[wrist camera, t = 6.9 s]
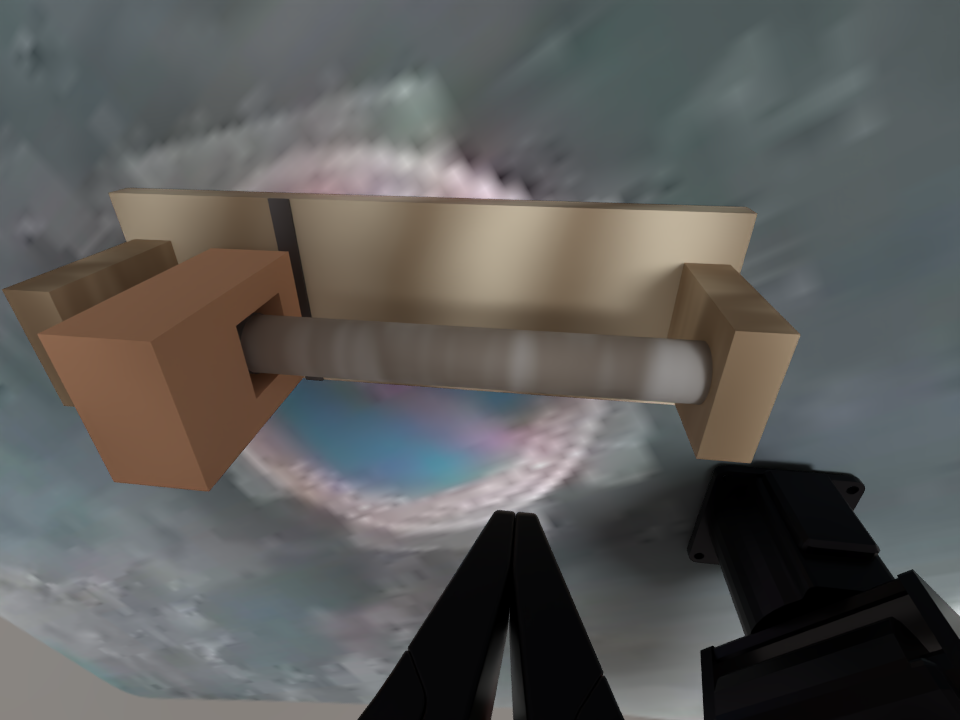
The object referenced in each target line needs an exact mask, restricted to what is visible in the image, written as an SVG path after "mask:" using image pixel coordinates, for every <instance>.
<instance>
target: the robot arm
mask: <svg viewBox="0 0 960 720" xmlns="http://www.w3.org/2000/svg"><path fill="white" fill-rule="evenodd" d="M725 475H728V476H727V477H723V476H725ZM851 486H852V487H851ZM864 491H865V486H864V484H863V483H862V482H861V481H860V479H859V478H857V477H855V476H847V475H836V474H824V473H812V472H800V471H788V470H776V469H765V468H753V467H741V466H729V465H724V466H720V467H718V468H716V469H715V470H714V472H713V474H712V477H711V480H710V483H709V486H708V489H707V492H706V495H705V498H704V501H703V504H702V507H701V510H700V513H699V516H698V519H697V522H696V525H695V528H694V531H693V534H692V537H691V540H690V543H689V545H688V548H687V552H688V555H689V558H690V560H692V561H694V562H699V563H708V564H718V565H720V566H721V569H722V572H723V575H724V578H725V580H726V583H727V586H728V589H729V592H730V595H731V597H732V600H733V603H734V606H735V609H736V611H737V614H738V617H739V620H740V623H741V625H742V628H743V631H744V634H745V636H744V637H741V638H739V639H736V640H733V641H731V642H728V643H726V644H723V645H720V646H718V647H714V646H711V647H708V648H705V649H703V650H701V671H702V690H703V709H704V720H960V616H959V615H958V614H957V613H956V612H955V611H954V610H953V609H952V608H951V607H950V606H949V605H948V604H947V603H946V602H945V601H944V600H943V599H942V598H941V597H940V596H939V595H938V594H937V593H936V592H935V591H934V590H933V589H932V588H931V587H930V586H929V585H928V584H927V583H926V582H925V581H924V580H923V579H922V578H921V577H920V576H919V575H918V574H917V573H916V572H915V571H914V570H913V569H912V570H909V571H907V572H904V573H902V574H899V575H897V576H898V578H897V579H895V578H894V577H893V575H892V574H891V573H890V571H889V570H888V568H887V567H886V565H885V564H884V563H883V561H882V560H881V558H880V557H879V555H878V553H879V552H880V549H879V547H878V546H877V544H876V543H875V541H874V540H873V538H872V537H871V536H870V534H869V533H868V531H867V530H866V529H865V527H864V526H863V524H862V523H861V522H860V520H859V519H858V517H857V516H856V515H855V513H854V512H853V510H854V509H855V507H856V505H857V503H858V502H859V500H860V498H861V496H862V495H863V493H864ZM509 612H510V620H509ZM508 623H509V636H510V659H511V681H512V702H513V720H624V718H623V715H622V713H621V711H620V709H619V707H618V704H617V702H616V700H615V698H614V695H613V693H612V691H611V688H610V686H609V684H608V681H607V679H606V677H605V676H603V670H602V668H601V665H600V663H599V661H598V658H597V656H596V654H595V651H594V649H593V646H592V644H591V642H590V639H589V637H588V635H587V632H586V630H585V628H584V625H583V623H582V621H581V618H580V616H579V613H578V611H577V609H576V606H575V604H574V602H573V599H572V597H571V595H570V592H569V590H568V587H567V585H566V583H565V580H564V578H563V576H562V573H561V571H560V569H559V566H558V564H557V562H556V559H555V557H554V554H553V552H552V550H551V547H550V545H549V543H548V540H547V538H546V536H545V533H544V531H543V528H542V526H541V524H540V521H539V519H538V517H537V515H536V514H534V513H524V512H518V513H517V514H516V518H515V513H514V512H512V511H503V510H497V511H495V512H494V513H493V515H492V516H491V518H490V519H489V521H488V523H487V524H486V526H485V527H484V529H483V530H482V532H481V534H480V535H479V537H478V538H477V540H476V541H475V543H474V545H473V546H472V548H471V549H470V551H469V552H468V554H467V555H466V557H465V559H464V560H463V562H462V563H461V565H460V566H459V568H458V570H457V571H456V573H455V574H454V576H453V577H452V579H451V581H450V582H449V584H448V585H447V587H446V588H445V590H444V591H443V593H442V595H441V596H440V598H439V599H438V601H437V602H436V604H435V606H434V607H433V609H432V610H431V612H430V613H429V615H428V617H427V618H426V620H425V621H424V623H423V624H422V626H421V628H420V629H419V631H418V632H417V634H416V635H415V637H414V638H413V640H412V642H411V643H410V645H409V646H408V651H405V652H404V654H403V655H402V657H401V658H400V660H399V662H398V663H397V665H396V666H395V668H394V669H393V671H392V672H391V674H390V675H389V677H388V678H387V680H386V681H385V683H384V684H383V686H382V687H381V688H380V690H379V691H378V693H377V694H376V696H375V697H374V699H373V700H372V701H371V702H370V704H369V705H368V706H367V708H366V709H365V710H364V712H363V713H362V714H361V716H360V717H359V718H358V720H491V716H492V711H493V706H494V700H495V695H496V690H497V684H498V679H499V674H500V668H501V663H502V658H503V652H504V647H505V642H506V636H507V630H508Z"/></svg>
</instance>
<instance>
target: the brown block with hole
mask: <svg viewBox="0 0 960 720" xmlns="http://www.w3.org/2000/svg"><path fill="white" fill-rule="evenodd" d="M252 313H262V314H264V315H278V316H295V317H302V316H301V311H300V306H299V301H298V296H297V291H296V286H295V281H294V276H293V271H292V267H291V262H290V257H289V252H288V251H265V250H243V249H220V248H210V249H208V250H206V251H204V252H202V253H200V254H198V255H196V256H194V257H192V258H190V259H188V260H186V261H184V262H182V263H180V264H178V265H176V266H174V267H172V268H170V269H168V270H166V271H164V272H162V273H160V274H158V275H156V276H154V277H152V278H150V279H148V280H146V281H144V282H142V283H140V284H138V285H135V286H133V287H131V288H129V289H127V290H125V291H123V292H121V293H119V294H117V295H115V296H113V297H111V298H109V299H107V300H105V301H103V302H101V303H99V304H97V305H95V306H93V307H91V308H89V309H87V310H85V311H83V312H81V313H79V314H77V315H75V316H73V317H71V318H69V319H67V320H65V321H63V322H61V323H59V324H57V325H55V326H52V327H50V328H48V329H46V330H44V331H42V332H40V333H38V334H37V335H38V337H39V339H40V341H41V343H42V344H43V346H44V348H45V350H46V352H47V354H48V356H49V358H50V360H51V362H52V364H53V366H54V368H55V369H56V371H57V373H58V375H59V377H60V379H61V381H62V383H63V385H64V387H65V389H66V391H67V392H68V394H69V396H70V398H71V400H72V402H73V404H74V406H75V408H76V410H77V412H78V414H79V416H80V417H81V419H82V421H83V423H84V425H85V427H86V429H87V431H88V433H89V435H90V437H91V439H92V441H93V442H94V444H95V446H96V448H97V450H98V452H99V454H100V456H101V458H102V460H103V462H104V464H105V466H106V467H107V469H108V471H109V473H110V475H111V477H112V479H113V481H114V482H119V483H129V484H139V485H149V486H159V487H169V488H179V489H189V490H199V491H210V490H211V488H212V487H213V486H214V485H215V484H216V482H217V481H218V480H219V479H220V478H221V476H222V475H223V474H224V473H225V472H226V470H227V469H228V468H229V467H230V466H231V464H232V463H233V462H234V461H235V459H236V458H237V457H238V456H239V455H240V453H241V452H242V451H243V450H244V449H245V447H246V446H247V445H248V444H249V443H250V441H251V440H252V439H253V438H254V437H255V435H256V434H257V433H258V432H259V430H260V429H261V428H262V427H263V426H264V424H265V423H266V422H267V421H268V420H269V418H270V417H271V416H272V415H273V414H274V412H275V411H276V410H277V409H278V407H279V406H280V405H281V404H282V403H283V401H284V400H285V399H286V398H287V397H288V395H289V394H290V393H291V392H292V391H293V389H294V388H295V387H296V386H297V385H298V383H299V382H300V381H301V380H302V378H303V377H304V376H297V375H283V374H269V373H259V374H249V371H248V367H247V364H246V360H245V357H244V353H243V350H242V346H241V343H240V339H239V335H238V332H237V328H236V326H237V325H238V324H239V323H240V322H242V321H243V320H244V319H245V318H247V317H248V316H249V315H251V314H252Z"/></svg>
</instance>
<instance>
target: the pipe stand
mask: <svg viewBox="0 0 960 720" xmlns="http://www.w3.org/2000/svg"><path fill="white" fill-rule="evenodd" d="M109 196H110V199H111V201H112V204H113V207H114V209H115V212H116V215H117V217H118V220H119V223H120V225H121V228H122V231H123V233H124V236H125V239H126V241H127V242H125V243H123V244H120V245H118V246H115V247H112V248H110V249H107V250H104V251H102V252H99V253H97V254H94V255H91V256H89V257H86V258H83V259H81V260H78V261H75V262H73V263H70V264H68V265H65V266H62V267H60V268H57V269H54V270H52V271H49V272H47V273H44V274H41V275H39V276H36V277H33V278H31V279H28V280H26V281H23V282H20V283H18V284H15V285H12V286H10V287H7V288H4V289H2V290H3V292H4V294H5V296H6V298H7V300H8V302H9V304H10V305H11V307H12V309H13V311H14V313H15V315H16V317H17V319H18V320H19V322H20V324H21V326H22V328H23V330H24V332H25V334H26V335H27V337H28V339H29V341H30V343H31V345H32V347H33V349H34V350H35V352H36V354H37V356H38V358H39V360H40V362H41V364H42V365H43V367H44V369H45V371H46V373H47V375H48V377H49V379H50V380H51V382H52V384H53V386H54V388H55V390H56V392H57V394H58V395H59V397H60V399H61V401H62V403H63V405H64V406H73V407H75V406H74V404H73V402H72V400H71V398H70V396H69V394H68V392H67V391H66V389H65V387H64V385H63V383H62V381H61V379H60V377H59V375H58V373H57V371H56V369H55V368H54V366H53V364H52V362H51V360H50V358H49V356H48V354H47V352H46V350H45V348H44V346H43V344H42V343H41V341H40V339H39V337H38V335H37V334H38V333H40V332H42V331H44V330H46V329H48V328H50V327H52V326H55V325H57V324H59V323H61V322H63V321H65V320H67V319H69V318H71V317H73V316H75V315H77V314H79V313H81V312H83V311H85V310H87V309H89V308H91V307H93V306H95V305H97V304H99V303H101V302H103V301H105V300H107V299H109V298H111V297H113V296H115V295H117V294H119V293H121V292H123V291H125V290H127V289H129V288H131V287H133V286H135V285H138V284H140V283H142V282H144V281H146V280H148V279H150V278H152V277H154V276H156V275H158V274H160V273H162V272H164V271H166V270H168V269H170V268H172V267H174V266H176V265H178V264H180V263H182V262H184V261H186V260H188V259H190V258H192V257H194V256H196V255H198V254H200V253H202V252H204V251H206V250H208V249H210V248H220V249H243V250H265V251H288V252H289V257H290V262H291V267H292V271H293V276H294V281H295V286H296V291H297V296H298V301H299V306H300V311H301V316H302V317H295V316H278V315H264V314H262V313H252V314H251V315H249V316H248V317H247V318H245V319H244V320H243V321H242V322H240V323H239V324H238V325H237V326H236V328H237V332H238V335H239V339H240V343H241V346H242V350H243V353H244V357H245V360H246V364H247V367H248V371H249V374H259V373H269V374H283V375H297V376H304V377H303V378H306V380H319V381H323V380H324V379H325V380H339V381H353V382H367V383H380V384H394V385H408V386H422V387H435V388H449V389H463V390H477V391H490V392H504V393H518V394H531V395H545V396H559V397H573V398H586V399H600V400H614V401H628V402H641V403H655V404H669V405H675V406H676V408H677V411H678V413H679V416H680V418H681V421H682V423H683V426H684V428H685V431H686V434H687V436H688V439H689V441H690V444H691V446H692V449H693V451H694V454H695V456H696V459H707V460H719V461H731V462H743V463H751V462H752V459H753V456H754V454H755V451H756V449H757V446H758V444H759V441H760V438H761V436H762V433H763V431H764V428H765V425H766V423H767V420H768V418H769V415H770V412H771V410H772V407H773V405H774V402H775V399H776V397H777V394H778V392H779V389H780V387H781V384H782V381H783V379H784V376H785V374H786V371H787V368H788V366H789V363H790V361H791V358H792V355H793V353H794V350H795V348H796V345H797V343H798V340H799V337H800V334H799V333H798V332H797V331H796V330H795V329H794V328H793V327H792V326H791V325H790V324H789V323H788V322H787V321H786V320H785V319H784V318H783V317H782V316H781V315H780V314H779V313H778V312H777V311H776V310H775V309H774V308H773V307H772V306H771V305H770V304H769V303H768V302H767V301H766V300H765V299H764V298H763V297H762V296H761V295H760V294H759V293H758V292H757V291H756V290H755V289H754V288H753V287H752V286H751V285H750V284H749V283H748V282H747V281H746V280H745V279H744V278H743V277H742V276H741V275H740V272H741V268H742V265H743V261H744V258H745V254H746V251H747V248H748V244H749V241H750V237H751V234H752V231H753V227H754V224H755V220H756V217H757V213H755V212H754V211H752V210H751V209H749V208H747V207H727V206H695V205H663V204H631V203H598V202H566V201H534V200H502V199H469V198H437V197H405V196H373V195H341V194H308V193H276V192H244V191H212V190H179V189H147V188H125V189H121V190H117V191H113V192H110V193H109Z"/></svg>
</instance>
